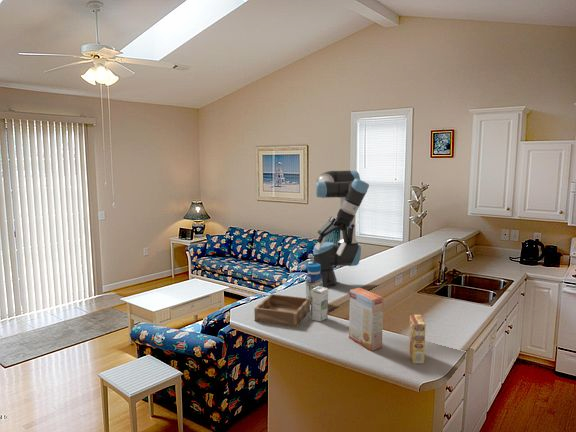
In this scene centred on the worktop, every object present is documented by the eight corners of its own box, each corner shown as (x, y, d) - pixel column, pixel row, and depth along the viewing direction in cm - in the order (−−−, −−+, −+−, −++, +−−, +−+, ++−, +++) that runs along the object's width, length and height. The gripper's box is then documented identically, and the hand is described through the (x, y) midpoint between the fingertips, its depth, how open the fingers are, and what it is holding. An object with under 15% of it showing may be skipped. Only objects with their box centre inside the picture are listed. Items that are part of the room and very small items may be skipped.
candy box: (424, 364, 153) (426, 324, 150) (412, 363, 153) (414, 323, 151) (419, 352, 161) (421, 314, 159) (408, 352, 162) (409, 314, 159)
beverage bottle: (319, 299, 218) (319, 261, 215) (325, 305, 210) (325, 266, 207) (303, 301, 216) (303, 263, 213) (308, 307, 208) (308, 267, 205)
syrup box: (317, 315, 198) (317, 285, 195) (328, 318, 194) (328, 288, 192) (310, 319, 193) (310, 288, 191) (321, 322, 190) (321, 291, 187)
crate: (271, 305, 210) (271, 293, 209) (310, 310, 203) (310, 298, 202) (254, 320, 192) (254, 308, 191) (296, 327, 185) (296, 314, 184)
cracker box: (382, 348, 165) (384, 296, 162) (370, 351, 162) (372, 299, 159) (359, 334, 177) (360, 286, 174) (348, 337, 174) (349, 289, 171)
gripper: (332, 207, 184) (312, 250, 189) (371, 220, 199) (351, 260, 203) (323, 201, 190) (303, 243, 195) (361, 214, 205) (342, 253, 209)
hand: (327, 251), depth 199 cm, fingers open, 13 cm apart
